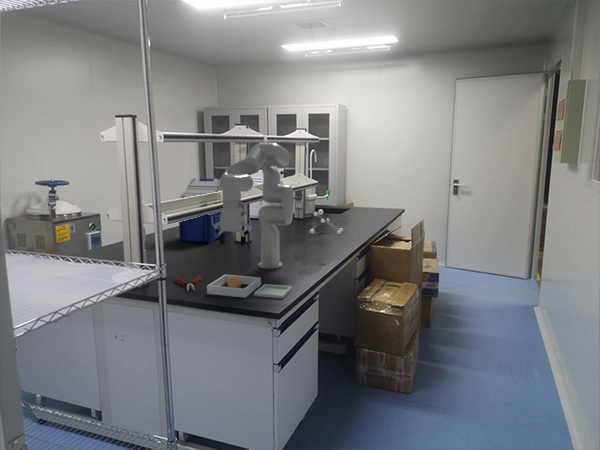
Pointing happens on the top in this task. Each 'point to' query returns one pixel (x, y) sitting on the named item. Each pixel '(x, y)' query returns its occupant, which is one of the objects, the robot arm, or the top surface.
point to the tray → (273, 291)
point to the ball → (234, 282)
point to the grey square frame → (236, 292)
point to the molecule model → (323, 222)
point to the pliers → (187, 284)
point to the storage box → (202, 225)
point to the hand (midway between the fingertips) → (232, 244)
